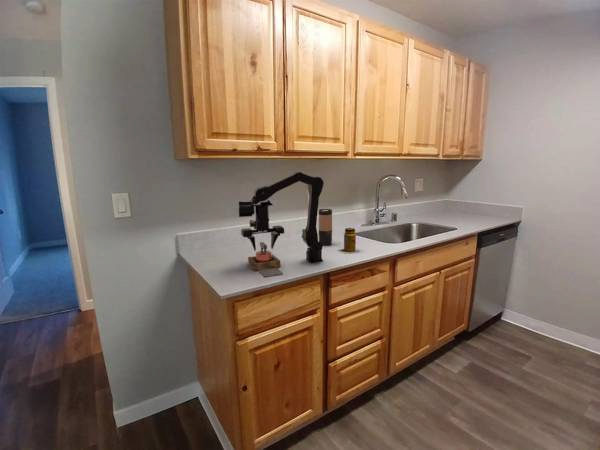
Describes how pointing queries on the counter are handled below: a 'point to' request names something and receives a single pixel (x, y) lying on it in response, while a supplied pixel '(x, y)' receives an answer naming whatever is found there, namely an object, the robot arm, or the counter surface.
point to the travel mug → (325, 227)
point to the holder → (264, 263)
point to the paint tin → (263, 254)
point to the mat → (270, 272)
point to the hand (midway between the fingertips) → (263, 249)
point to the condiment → (349, 241)
